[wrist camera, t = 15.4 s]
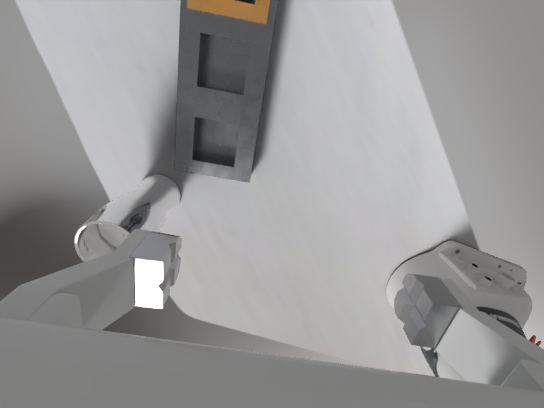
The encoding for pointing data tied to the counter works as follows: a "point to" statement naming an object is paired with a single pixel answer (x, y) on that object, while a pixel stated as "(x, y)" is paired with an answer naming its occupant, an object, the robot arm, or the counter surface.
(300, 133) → the counter surface
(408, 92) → the counter surface
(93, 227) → the beer glass
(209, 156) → the socket rail
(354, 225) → the counter surface
